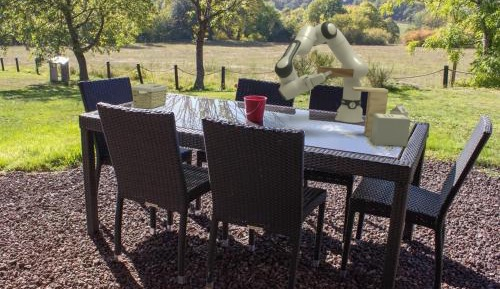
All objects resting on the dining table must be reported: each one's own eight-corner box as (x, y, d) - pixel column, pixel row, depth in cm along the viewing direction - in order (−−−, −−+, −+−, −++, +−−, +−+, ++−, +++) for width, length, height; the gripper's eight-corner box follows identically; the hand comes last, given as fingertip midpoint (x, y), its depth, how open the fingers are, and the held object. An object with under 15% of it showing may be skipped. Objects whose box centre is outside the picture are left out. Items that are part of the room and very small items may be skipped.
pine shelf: (348, 132, 265) (352, 86, 259) (379, 133, 264) (384, 88, 258) (350, 135, 256) (354, 88, 250) (383, 137, 256) (388, 90, 249)
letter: (375, 114, 246) (375, 113, 246) (402, 115, 245) (402, 114, 245) (380, 117, 235) (380, 117, 235) (408, 119, 234) (408, 118, 234)
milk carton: (386, 137, 256) (390, 103, 251) (393, 135, 261) (397, 102, 256) (398, 140, 251) (402, 105, 246) (405, 138, 256) (409, 104, 251)
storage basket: (148, 103, 337) (147, 82, 333) (168, 104, 333) (168, 84, 329) (131, 108, 314) (130, 86, 311) (152, 110, 310) (152, 87, 307)
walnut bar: (316, 74, 254) (317, 66, 253) (351, 77, 253) (352, 68, 252) (317, 75, 250) (318, 67, 249) (353, 77, 249) (353, 69, 248)
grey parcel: (370, 139, 250) (373, 113, 246) (401, 141, 249) (404, 115, 245) (375, 144, 238) (378, 118, 235) (407, 146, 237) (410, 119, 234)
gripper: (308, 85, 264) (331, 74, 262) (311, 89, 244) (335, 78, 242) (304, 75, 263) (326, 64, 260) (306, 79, 243) (330, 67, 241)
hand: (330, 70), depth 251 cm, fingers closed on walnut bar, 4 cm apart
